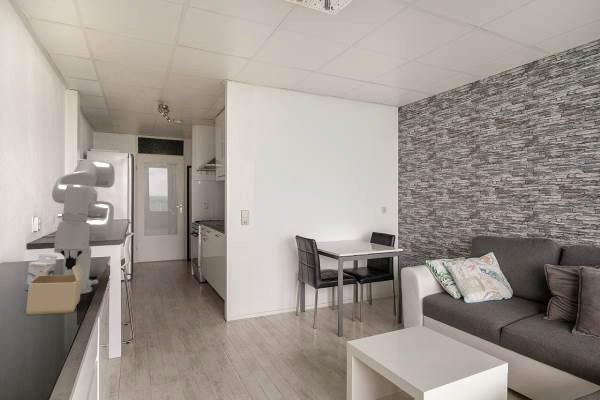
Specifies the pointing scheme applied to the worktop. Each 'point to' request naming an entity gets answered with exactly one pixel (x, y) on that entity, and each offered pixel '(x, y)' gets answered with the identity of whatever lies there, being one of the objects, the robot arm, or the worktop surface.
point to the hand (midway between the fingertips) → (70, 268)
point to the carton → (53, 294)
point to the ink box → (41, 267)
